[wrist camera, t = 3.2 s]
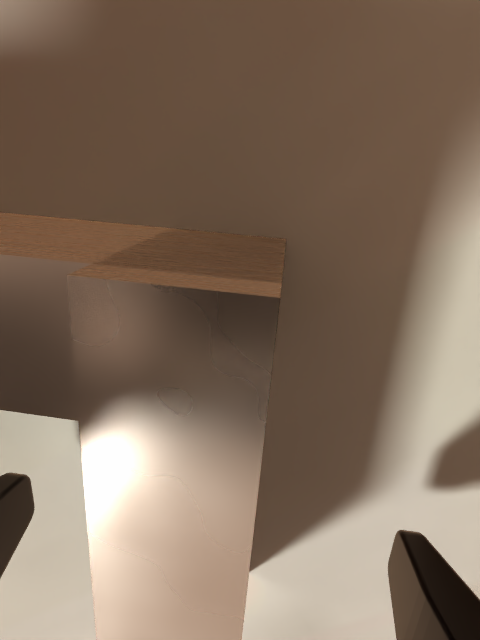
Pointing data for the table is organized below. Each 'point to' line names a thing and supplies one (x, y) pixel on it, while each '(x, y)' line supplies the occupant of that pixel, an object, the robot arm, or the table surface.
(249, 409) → the pale grey angled bracket
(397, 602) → the robot arm
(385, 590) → the table surface
